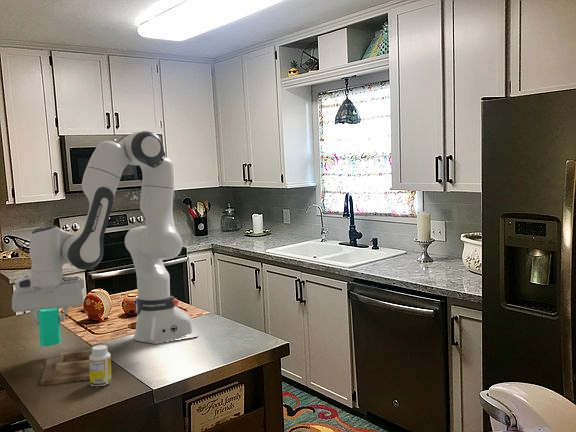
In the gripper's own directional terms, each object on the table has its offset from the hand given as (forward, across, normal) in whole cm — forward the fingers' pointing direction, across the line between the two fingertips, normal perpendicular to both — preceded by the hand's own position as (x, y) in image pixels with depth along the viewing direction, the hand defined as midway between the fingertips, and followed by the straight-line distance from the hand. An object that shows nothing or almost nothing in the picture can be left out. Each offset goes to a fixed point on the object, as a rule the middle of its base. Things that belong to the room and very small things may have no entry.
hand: (50, 322), depth 161 cm
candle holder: (+11, -8, +14) cm, 20 cm away
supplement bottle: (+12, -14, +28) cm, 33 cm away
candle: (+7, 0, 0) cm, 7 cm away
